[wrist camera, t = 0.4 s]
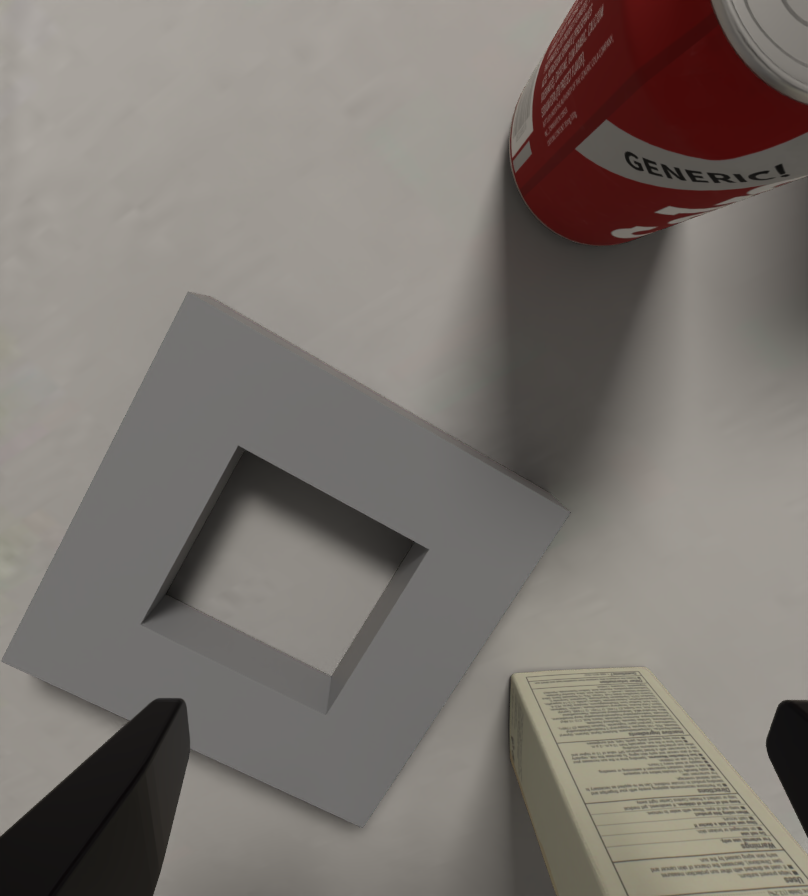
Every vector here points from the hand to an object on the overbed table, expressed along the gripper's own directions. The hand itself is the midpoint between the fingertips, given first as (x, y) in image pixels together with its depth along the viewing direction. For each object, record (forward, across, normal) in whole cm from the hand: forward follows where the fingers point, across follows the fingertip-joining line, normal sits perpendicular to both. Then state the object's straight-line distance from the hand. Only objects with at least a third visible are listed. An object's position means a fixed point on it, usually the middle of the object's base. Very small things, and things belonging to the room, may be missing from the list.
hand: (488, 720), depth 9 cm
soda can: (+16, -6, -10) cm, 20 cm away
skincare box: (+13, -8, +12) cm, 19 cm away
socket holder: (+14, +5, +6) cm, 16 cm away
